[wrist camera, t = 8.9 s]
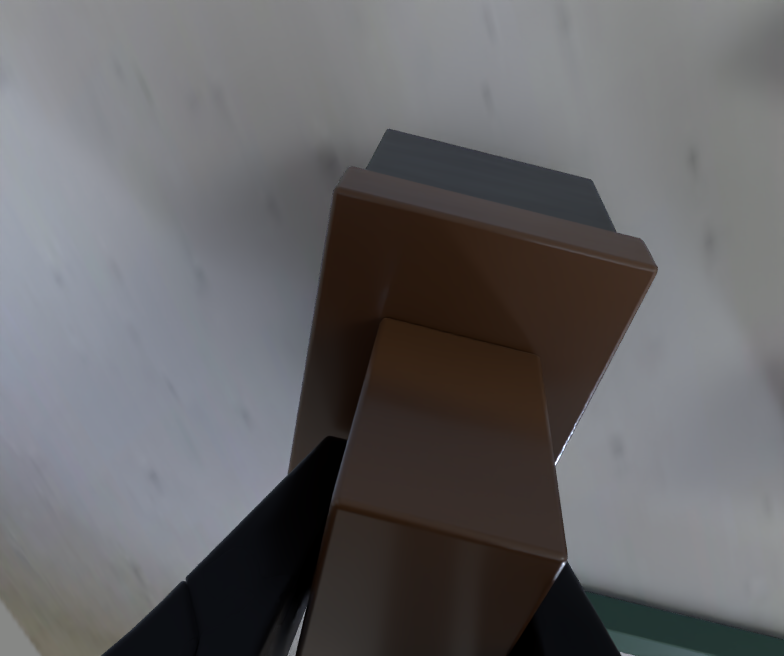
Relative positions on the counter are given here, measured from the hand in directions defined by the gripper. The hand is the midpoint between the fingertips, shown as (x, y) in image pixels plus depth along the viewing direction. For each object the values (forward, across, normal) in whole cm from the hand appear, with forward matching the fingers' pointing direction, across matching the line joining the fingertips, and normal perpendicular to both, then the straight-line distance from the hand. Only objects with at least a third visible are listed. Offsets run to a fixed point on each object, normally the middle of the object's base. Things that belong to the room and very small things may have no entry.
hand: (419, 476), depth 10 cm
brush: (+4, 0, 0) cm, 4 cm away
